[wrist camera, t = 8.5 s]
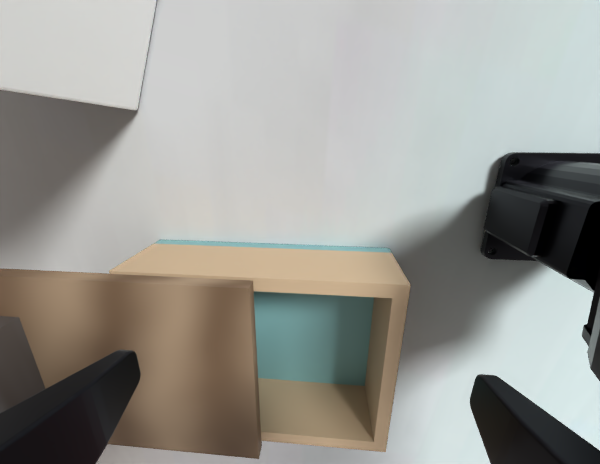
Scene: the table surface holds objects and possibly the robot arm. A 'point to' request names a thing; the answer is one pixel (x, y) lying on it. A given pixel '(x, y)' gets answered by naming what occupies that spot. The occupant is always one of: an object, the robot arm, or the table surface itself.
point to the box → (309, 331)
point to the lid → (141, 351)
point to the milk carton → (76, 49)
